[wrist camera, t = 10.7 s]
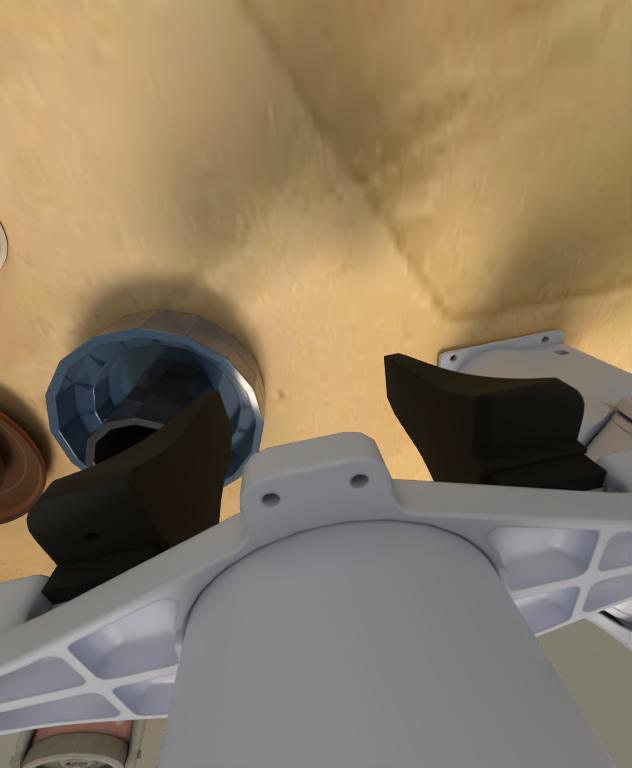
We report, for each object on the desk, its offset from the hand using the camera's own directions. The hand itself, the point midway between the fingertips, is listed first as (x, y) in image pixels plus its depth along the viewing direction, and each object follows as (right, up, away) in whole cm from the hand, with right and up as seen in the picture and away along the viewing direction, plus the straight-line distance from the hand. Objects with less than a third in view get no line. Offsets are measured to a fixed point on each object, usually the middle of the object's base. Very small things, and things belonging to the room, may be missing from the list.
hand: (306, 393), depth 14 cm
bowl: (-9, 0, +9) cm, 13 cm away
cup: (-9, 0, +9) cm, 13 cm away
